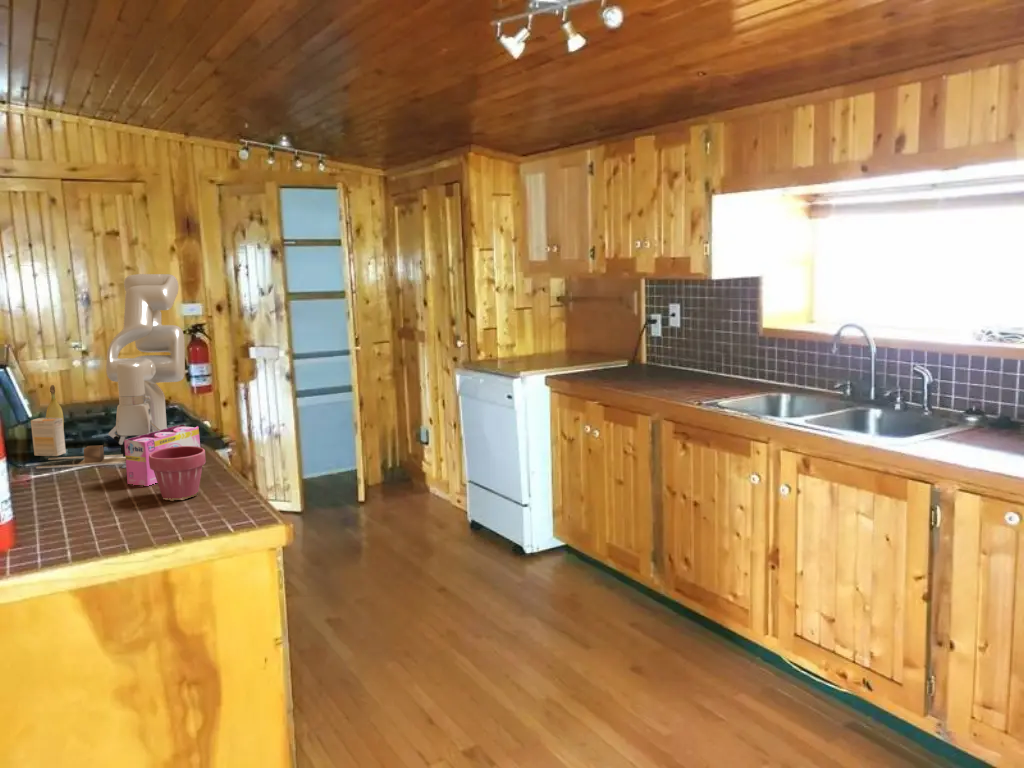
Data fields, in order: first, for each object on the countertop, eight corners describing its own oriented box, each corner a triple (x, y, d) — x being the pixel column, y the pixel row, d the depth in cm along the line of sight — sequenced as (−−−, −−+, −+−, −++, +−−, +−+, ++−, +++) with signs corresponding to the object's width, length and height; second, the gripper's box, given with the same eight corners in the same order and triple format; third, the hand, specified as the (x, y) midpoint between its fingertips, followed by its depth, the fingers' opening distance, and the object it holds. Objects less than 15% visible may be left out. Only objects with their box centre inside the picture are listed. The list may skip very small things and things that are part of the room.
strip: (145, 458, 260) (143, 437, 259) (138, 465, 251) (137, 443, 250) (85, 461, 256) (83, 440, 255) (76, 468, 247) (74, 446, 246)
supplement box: (66, 456, 263) (63, 417, 261) (57, 459, 259) (53, 420, 257) (43, 455, 264) (40, 417, 262) (33, 459, 260) (30, 419, 258)
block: (104, 458, 255) (103, 445, 254) (100, 462, 251) (99, 448, 250) (88, 459, 254) (87, 445, 253) (84, 463, 250) (83, 449, 249)
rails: (149, 457, 262) (149, 453, 261) (140, 466, 250) (140, 462, 250) (49, 462, 255) (49, 457, 255) (36, 472, 244) (35, 467, 243)
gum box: (185, 465, 253) (183, 423, 251) (205, 467, 250) (203, 425, 248) (126, 484, 231) (122, 439, 228) (147, 487, 228) (144, 441, 226)
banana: (58, 451, 270) (53, 393, 266) (39, 453, 267) (33, 394, 264) (67, 437, 290) (62, 383, 287) (48, 439, 288) (43, 384, 285)
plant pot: (147, 506, 211) (144, 459, 209) (156, 491, 224) (153, 447, 222) (204, 502, 214) (202, 456, 212) (209, 487, 228) (207, 444, 226)
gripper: (163, 397, 258) (167, 451, 260) (106, 399, 254) (110, 454, 257) (158, 401, 250) (162, 456, 253) (99, 403, 247) (104, 459, 249)
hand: (136, 454), depth 255 cm, fingers open, 6 cm apart
